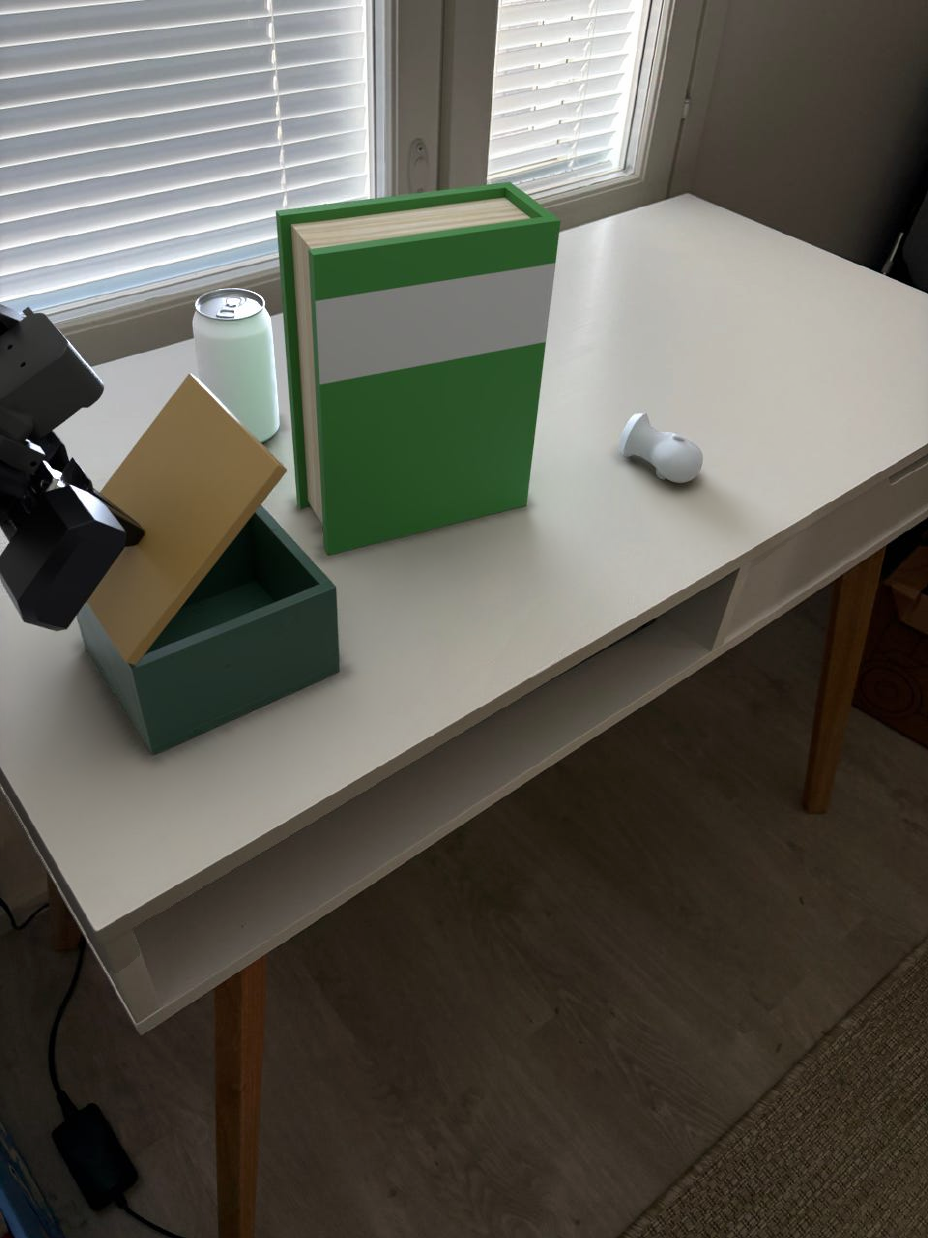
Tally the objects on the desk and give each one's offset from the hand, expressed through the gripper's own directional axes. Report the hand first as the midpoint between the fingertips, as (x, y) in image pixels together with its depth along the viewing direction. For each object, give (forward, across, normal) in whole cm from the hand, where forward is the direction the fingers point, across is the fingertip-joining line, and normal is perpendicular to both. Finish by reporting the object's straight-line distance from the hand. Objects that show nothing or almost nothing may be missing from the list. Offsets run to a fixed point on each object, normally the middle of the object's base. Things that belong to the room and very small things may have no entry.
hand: (139, 535), depth 60 cm
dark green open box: (+11, 0, +6) cm, 13 cm away
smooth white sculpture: (+42, +1, -24) cm, 48 cm away
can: (+22, +25, -4) cm, 33 cm away
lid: (+1, 0, -2) cm, 2 cm away
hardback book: (+26, +8, -9) cm, 29 cm away
